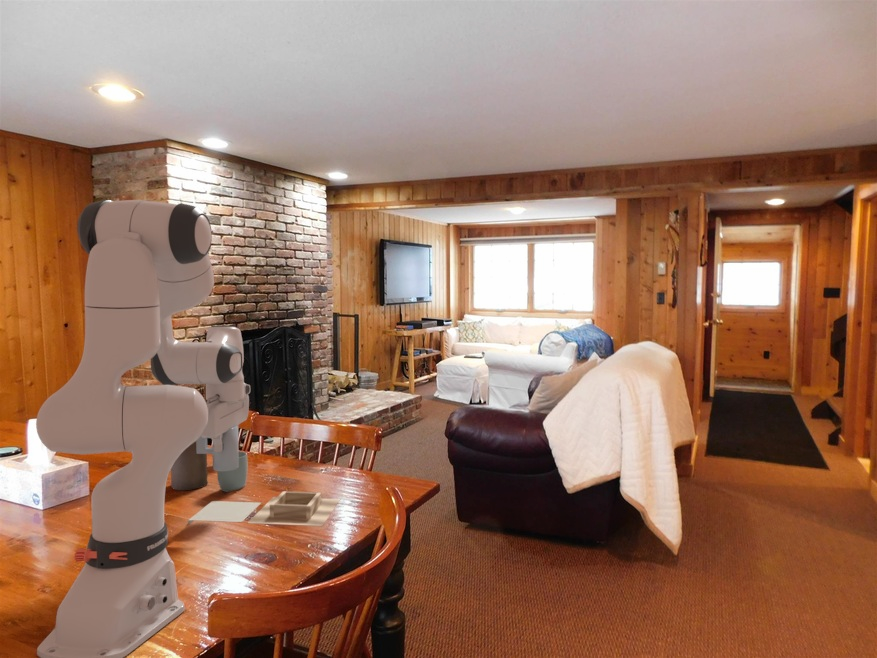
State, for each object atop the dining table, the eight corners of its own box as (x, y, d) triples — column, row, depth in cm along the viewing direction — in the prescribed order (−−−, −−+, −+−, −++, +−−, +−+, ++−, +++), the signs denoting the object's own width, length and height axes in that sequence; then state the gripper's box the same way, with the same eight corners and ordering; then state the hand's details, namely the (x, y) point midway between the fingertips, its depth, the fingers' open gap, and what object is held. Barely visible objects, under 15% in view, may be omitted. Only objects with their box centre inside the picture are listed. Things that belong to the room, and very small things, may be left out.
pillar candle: (213, 480, 174) (212, 429, 173) (197, 491, 164) (195, 437, 163) (182, 479, 175) (180, 429, 174) (163, 490, 165) (162, 436, 164)
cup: (238, 495, 161) (237, 459, 160) (212, 493, 163) (211, 457, 162) (252, 486, 169) (252, 452, 168) (227, 484, 170) (227, 450, 170)
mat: (241, 526, 140) (241, 522, 140) (188, 524, 141) (188, 520, 141) (261, 506, 153) (261, 502, 153) (212, 504, 154) (212, 500, 154)
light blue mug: (232, 471, 143) (232, 430, 143) (192, 470, 144) (191, 429, 143) (242, 464, 149) (242, 425, 149) (203, 463, 150) (203, 423, 149)
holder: (322, 530, 139) (322, 513, 138) (247, 527, 140) (246, 510, 139) (340, 502, 156) (340, 487, 156) (273, 500, 158) (273, 485, 157)
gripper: (219, 399, 135) (219, 459, 136) (253, 385, 155) (253, 437, 156) (192, 399, 135) (193, 458, 136) (229, 384, 156) (230, 436, 156)
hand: (225, 447), depth 146 cm, fingers closed on light blue mug, 6 cm apart
